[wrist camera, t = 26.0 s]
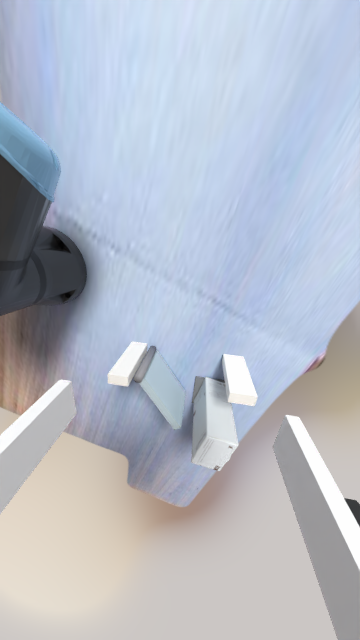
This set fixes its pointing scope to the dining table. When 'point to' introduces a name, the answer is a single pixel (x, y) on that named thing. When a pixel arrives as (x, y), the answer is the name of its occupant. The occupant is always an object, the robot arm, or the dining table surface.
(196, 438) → the skincare box
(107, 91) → the dining table surface
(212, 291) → the dining table surface
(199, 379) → the mat
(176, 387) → the door
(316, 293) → the dining table surface
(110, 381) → the wall
